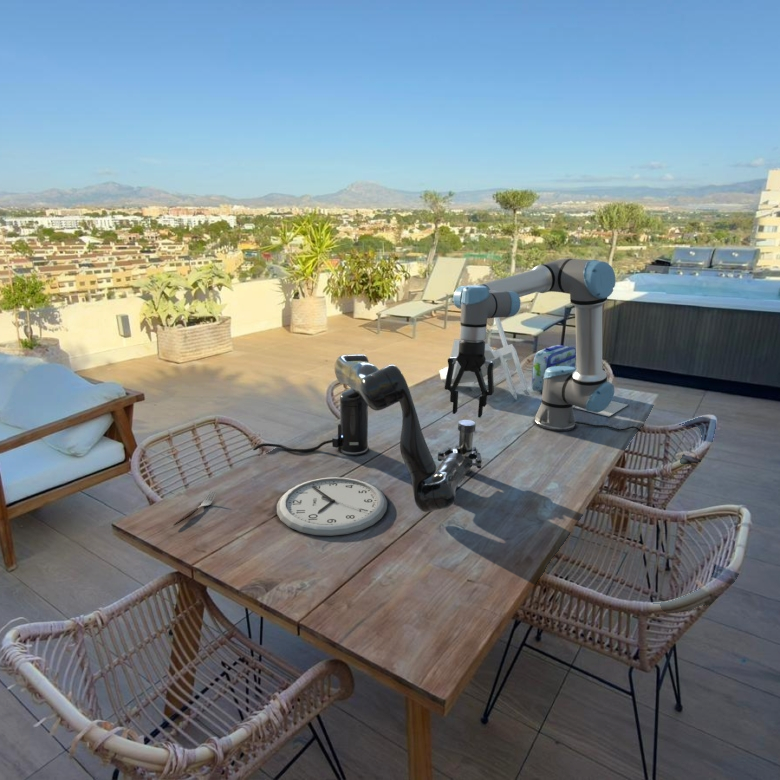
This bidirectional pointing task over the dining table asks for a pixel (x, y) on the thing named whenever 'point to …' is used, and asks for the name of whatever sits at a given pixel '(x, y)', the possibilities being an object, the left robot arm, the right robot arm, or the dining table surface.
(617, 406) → the invitation card
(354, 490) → the wall clock
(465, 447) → the silver metal cylinder
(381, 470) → the dining table surface
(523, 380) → the white plastic object
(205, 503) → the fork
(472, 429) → the lid
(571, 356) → the lunch box
